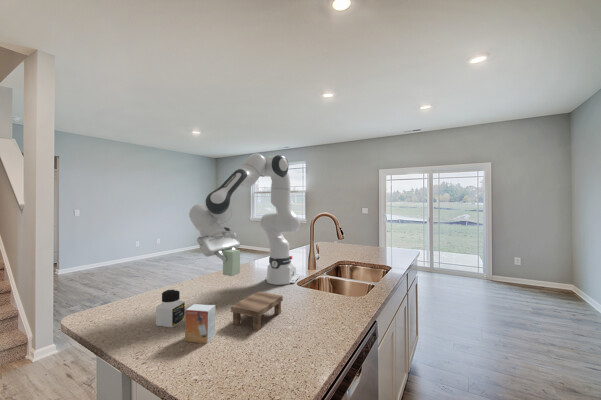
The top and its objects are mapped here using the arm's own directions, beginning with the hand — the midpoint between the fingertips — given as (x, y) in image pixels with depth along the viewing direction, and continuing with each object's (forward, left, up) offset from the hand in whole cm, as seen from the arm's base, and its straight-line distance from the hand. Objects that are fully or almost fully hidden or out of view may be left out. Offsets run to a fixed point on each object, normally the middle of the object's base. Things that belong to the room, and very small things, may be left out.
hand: (230, 258), depth 114 cm
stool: (+3, +16, -21) cm, 27 cm away
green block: (0, 0, -6) cm, 6 cm away
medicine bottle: (+20, -12, -22) cm, 32 cm away
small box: (+24, +7, -22) cm, 33 cm away
